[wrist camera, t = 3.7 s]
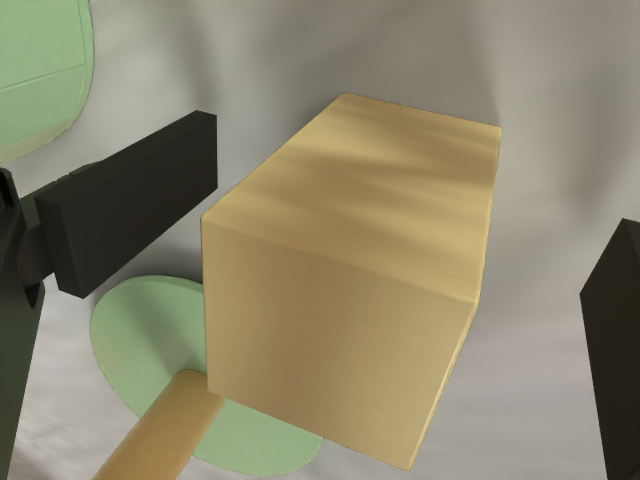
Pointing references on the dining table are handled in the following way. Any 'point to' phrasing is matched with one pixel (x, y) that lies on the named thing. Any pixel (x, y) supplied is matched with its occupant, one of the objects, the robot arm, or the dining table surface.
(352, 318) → the block
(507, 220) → the dining table surface
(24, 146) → the canister
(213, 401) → the lid
